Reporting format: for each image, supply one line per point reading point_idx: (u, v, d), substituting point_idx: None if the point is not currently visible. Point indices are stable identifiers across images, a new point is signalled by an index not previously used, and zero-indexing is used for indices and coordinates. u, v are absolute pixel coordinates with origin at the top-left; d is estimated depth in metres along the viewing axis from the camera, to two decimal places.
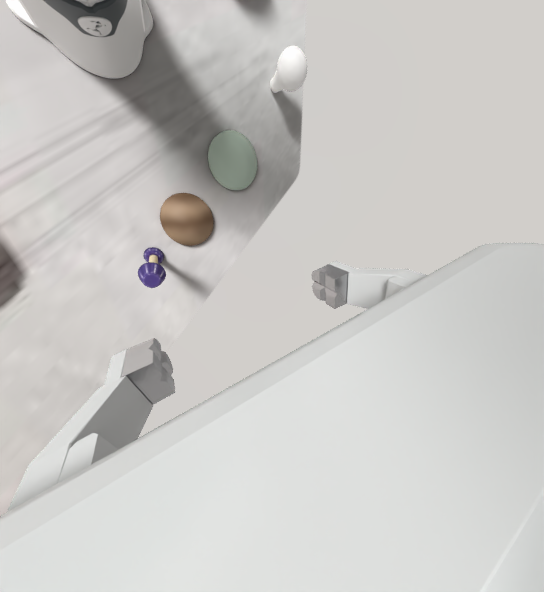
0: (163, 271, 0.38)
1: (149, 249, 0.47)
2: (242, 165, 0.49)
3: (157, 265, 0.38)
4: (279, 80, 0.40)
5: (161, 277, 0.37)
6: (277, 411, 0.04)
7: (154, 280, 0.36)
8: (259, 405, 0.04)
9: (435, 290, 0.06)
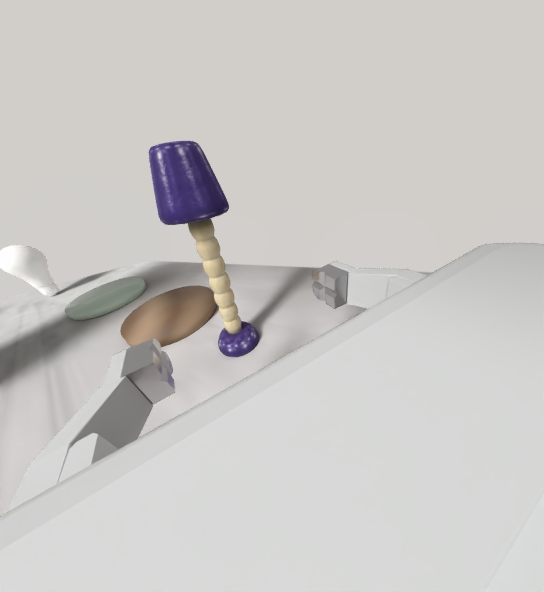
0: None
1: (219, 344, 0.20)
2: (114, 287, 0.37)
3: None
4: (27, 267, 0.37)
5: None
6: (277, 411, 0.04)
7: None
8: (259, 405, 0.04)
9: (435, 290, 0.06)
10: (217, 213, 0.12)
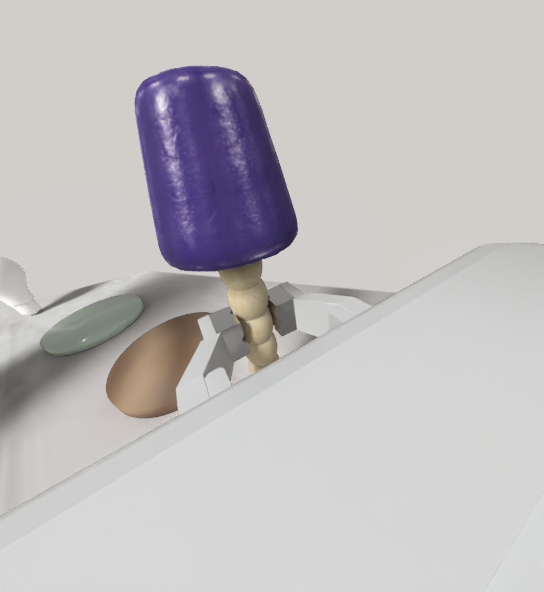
0: None
1: None
2: (105, 308, 0.30)
3: None
4: None
5: None
6: (277, 411, 0.04)
7: None
8: (259, 405, 0.04)
9: (435, 290, 0.06)
10: (286, 245, 0.06)
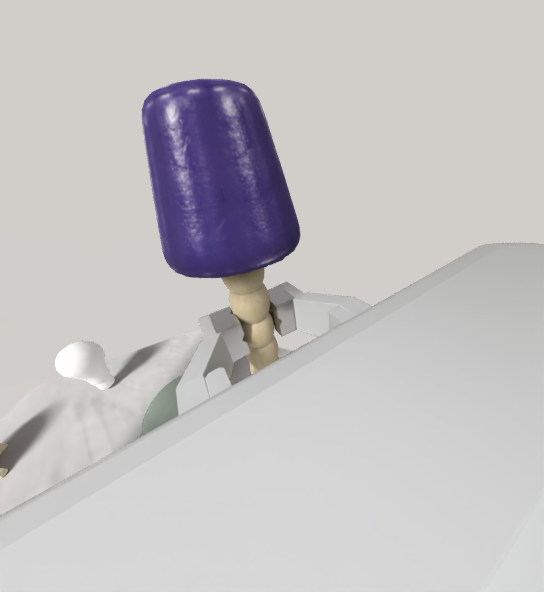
0: None
1: None
2: None
3: None
4: (88, 369, 0.33)
5: None
6: (277, 411, 0.04)
7: None
8: (259, 405, 0.04)
9: (435, 290, 0.06)
10: (290, 250, 0.06)
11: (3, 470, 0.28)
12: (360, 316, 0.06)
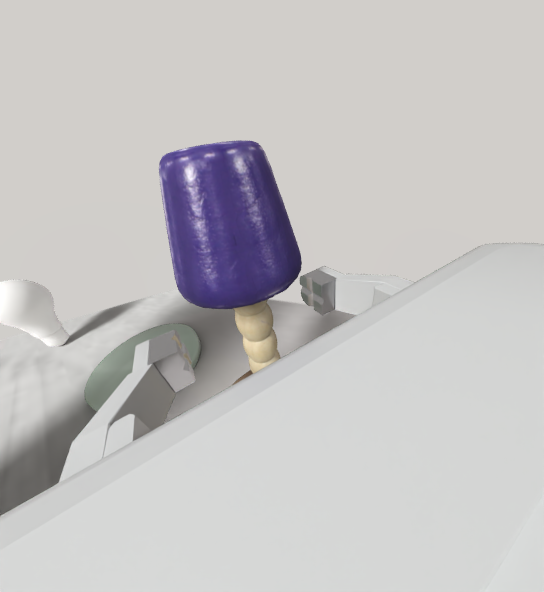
0: None
1: None
2: None
3: None
4: (26, 313, 0.25)
5: None
6: (277, 411, 0.04)
7: None
8: (259, 405, 0.04)
9: (435, 290, 0.06)
10: (293, 280, 0.07)
11: None
12: (360, 316, 0.06)
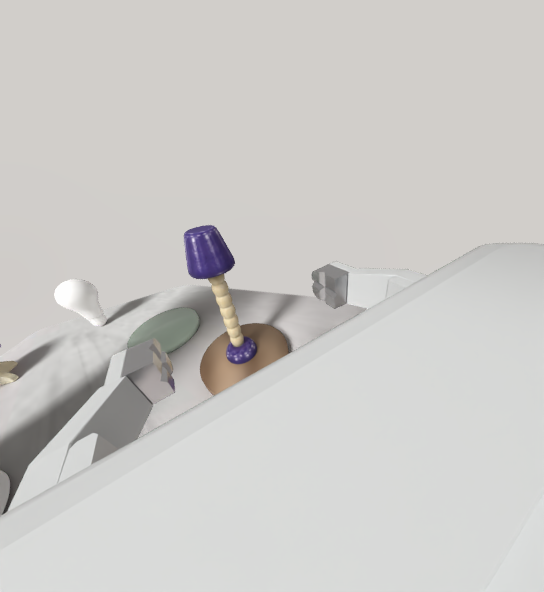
0: None
1: (227, 355, 0.26)
2: (169, 320, 0.37)
3: None
4: (83, 301, 0.38)
5: None
6: (277, 411, 0.04)
7: (199, 228, 0.18)
8: (259, 405, 0.04)
9: (435, 290, 0.06)
10: (228, 269, 0.19)
11: (14, 375, 0.33)
12: (360, 316, 0.06)
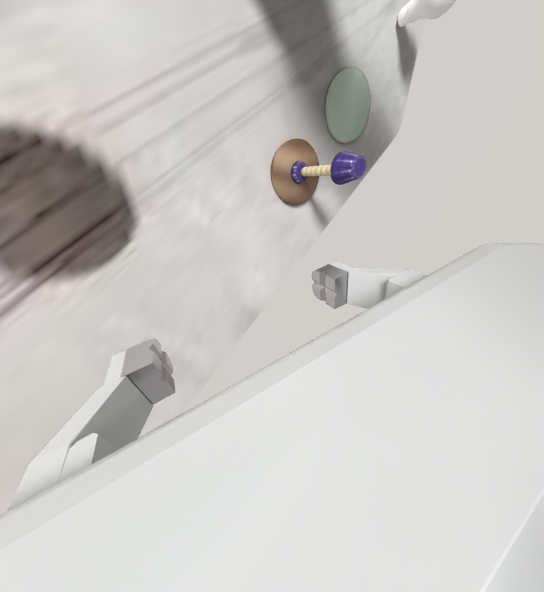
0: None
1: (299, 161, 0.41)
2: (356, 112, 0.43)
3: None
4: (426, 2, 0.35)
5: None
6: (277, 411, 0.04)
7: (361, 167, 0.30)
8: (259, 405, 0.04)
9: (435, 290, 0.06)
10: None
11: None
12: (360, 316, 0.06)
